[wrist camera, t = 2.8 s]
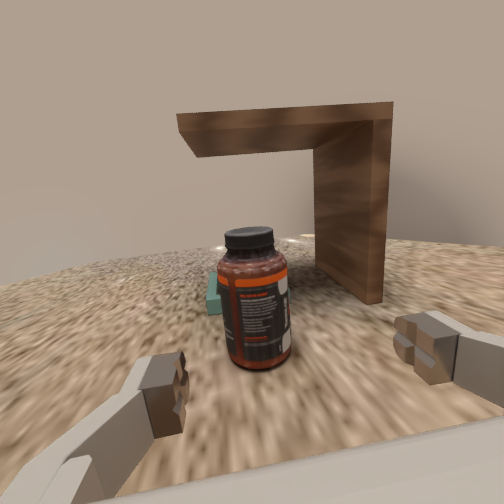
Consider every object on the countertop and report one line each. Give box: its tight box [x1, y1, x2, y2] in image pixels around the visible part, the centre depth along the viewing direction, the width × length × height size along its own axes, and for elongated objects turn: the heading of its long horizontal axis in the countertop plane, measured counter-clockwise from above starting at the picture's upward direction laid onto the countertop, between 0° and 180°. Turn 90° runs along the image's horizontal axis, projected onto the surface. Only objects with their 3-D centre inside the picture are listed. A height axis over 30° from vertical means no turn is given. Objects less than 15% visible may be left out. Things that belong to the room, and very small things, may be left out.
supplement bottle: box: [217, 227, 291, 369], centre depth 21 cm, size 6×6×11 cm
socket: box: [206, 272, 290, 315], centre depth 34 cm, size 10×10×2 cm
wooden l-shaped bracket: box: [176, 102, 393, 305], centre depth 32 cm, size 21×16×22 cm
